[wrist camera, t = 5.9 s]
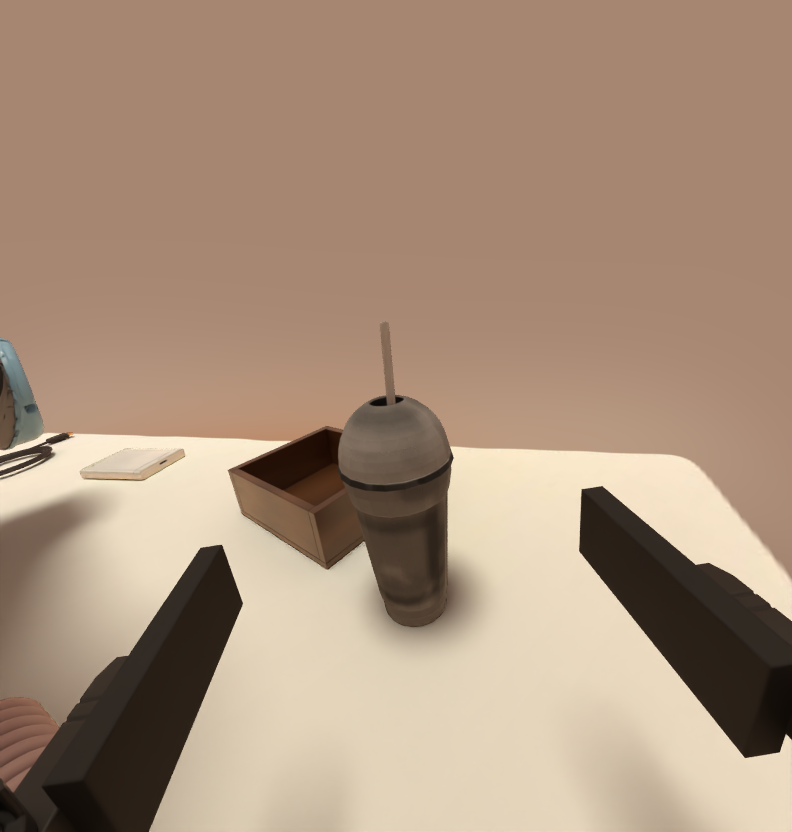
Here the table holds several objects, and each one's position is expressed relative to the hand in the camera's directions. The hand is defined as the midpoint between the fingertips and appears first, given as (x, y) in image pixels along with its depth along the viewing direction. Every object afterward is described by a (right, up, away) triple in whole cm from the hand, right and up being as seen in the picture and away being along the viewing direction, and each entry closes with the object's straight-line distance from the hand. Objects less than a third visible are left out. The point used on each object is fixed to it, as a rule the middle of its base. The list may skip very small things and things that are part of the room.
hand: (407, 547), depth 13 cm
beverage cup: (+1, -9, +13) cm, 16 cm away
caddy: (-8, -5, +27) cm, 29 cm away
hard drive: (-42, -4, +45) cm, 62 cm away
